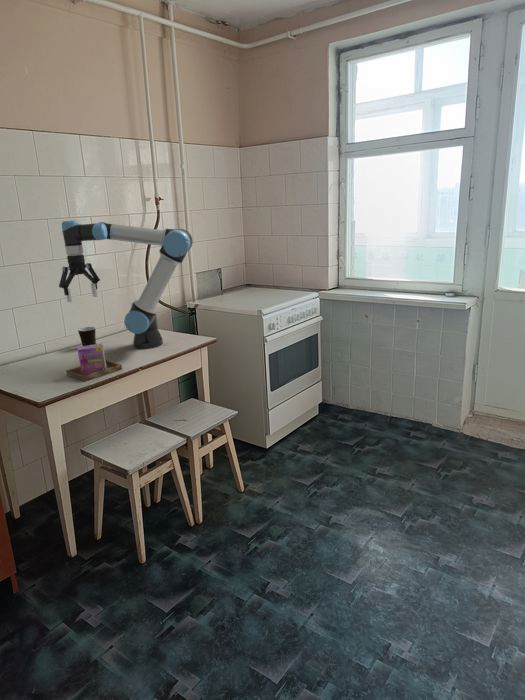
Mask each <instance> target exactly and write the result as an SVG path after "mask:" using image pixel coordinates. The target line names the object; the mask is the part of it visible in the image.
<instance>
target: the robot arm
mask: <svg viewBox="0 0 525 700" xmlns="http://www.w3.org/2000/svg"><path fill="white" fill-rule="evenodd" d="M61 229H62V232H61V233H62V236H63V241H64V247H65V253H66V255H67V256H66V260H67V263H68V266H62V272H61V277H60V281H59V284H58V287H59V288H61V289H63V293H64V296H66V301H67V302H68V303H73V299H72V294H71V288H69V287H70V284H71V283H72V281H73V279H74V277H76V276H79V275H84V277H86V278H87V279H88V280H89V281H90V282H91V283H90V286H91V288H90V289H91V292H92V297H95V298H97V297H98V292H97V290H98V284H99V282H100V281H101V279H100V278H99V275H97V273H96V271H95V270H94V268H93V265H92V263H91V262H86V260H85V259H86V258H85V255H84V248H83V242H88V241H89V242H90V241H91V242H92V241H102V240H103V241H104V240H112V241H122V242H129V243H135V244H145V245H150V246H158V247H160V248H159V258H158V261H157V262H156V265H155V266H154V268H153V271H152V272H151V274H150V277H149V278H148V280H147V283H146V284H145V287H144V288H143V291H142V293H141V294H140V296H139V298H138V299H135V300H134V301H133V302H132V303H131V305H130V310H129V311H128V312H127V313H126V315H125V317H124V322H123V323H124V325H125V328H126V329H127V330H128V331H129V332H130V333H132V334H134V336H133V341H132V345H133V348H135V349H143V350H144V349H151V348H156V347H160V346H162V345H163V343H164V341H163V337H162V335H161V333H160V331H159V327H158V320H157V319H158V318H157V309H156V306H157V305H158V303H159V301H160V299H161V298H162V295H163V293H164V291H165V289H166V288H167V285H168V284H169V281H170V279H171V277H172V276H173V274H174V272H175V269H176V268H177V267H178V265H180V264H181V265H182V263H183V261H184V259H185V257H187V253H188V251H190V250H191V248H192V247H193V237H192V234H191V233H190V232H189V231H187V230H186V229H183V228H165V229H156V228H148V227H140V226H131V225H125V224H116V223H107V222H105V221H104V222H103V221H101V222H97V223H95V222H94V223H86V224H85V223H83V224H80V223H79V221H78V220H64V221H62V222H61ZM86 268H87V270H86ZM88 271H89V272H88ZM68 272H69V273H68Z"/></svg>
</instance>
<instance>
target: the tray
mask: <svg viewBox="0 0 525 700" xmlns="http://www.w3.org/2000/svg"><path fill="white" fill-rule="evenodd" d="M105 360H106V359H105ZM106 367H107V368H106V369H104V370H101V371H98V372H95V373H91V374H85V375H82V372H81V366H76V367H73V368H71V369H67V370H66V376H68V377H71V378H74V379H76V380H79V381H80V382H87V381H90V380H94V379H97V378H100V377H103V376H105V375H106V376H107V375H109V374H112V373H115V372H118V371H121V370H123V368H122V364H119V363H117V362H114V361H111V360H108V359H107V360H106Z"/></svg>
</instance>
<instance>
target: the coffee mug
mask: <svg viewBox="0 0 525 700" xmlns="http://www.w3.org/2000/svg"><path fill="white" fill-rule="evenodd" d="M77 331H78V335H79V338H80V341H81V344H82V345H81V346H87V345H94V344H97V339H96V337H97V335H96V327H95V326H84V327H80V328H78V330H77Z"/></svg>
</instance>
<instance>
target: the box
mask: <svg viewBox="0 0 525 700" xmlns="http://www.w3.org/2000/svg"><path fill="white" fill-rule="evenodd" d="M77 355H78V359H79V360H78V361H79V365H80V366H81V372H82V375H85V374H91V373H95V372H98V371H101V370H104V369H106V368H107V367H106V354H105V350H104V344H103V343H96V344H94V345H87V346H83V345H81V346H80V345H79V346H78V347H77ZM80 366H79V367H80Z"/></svg>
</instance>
